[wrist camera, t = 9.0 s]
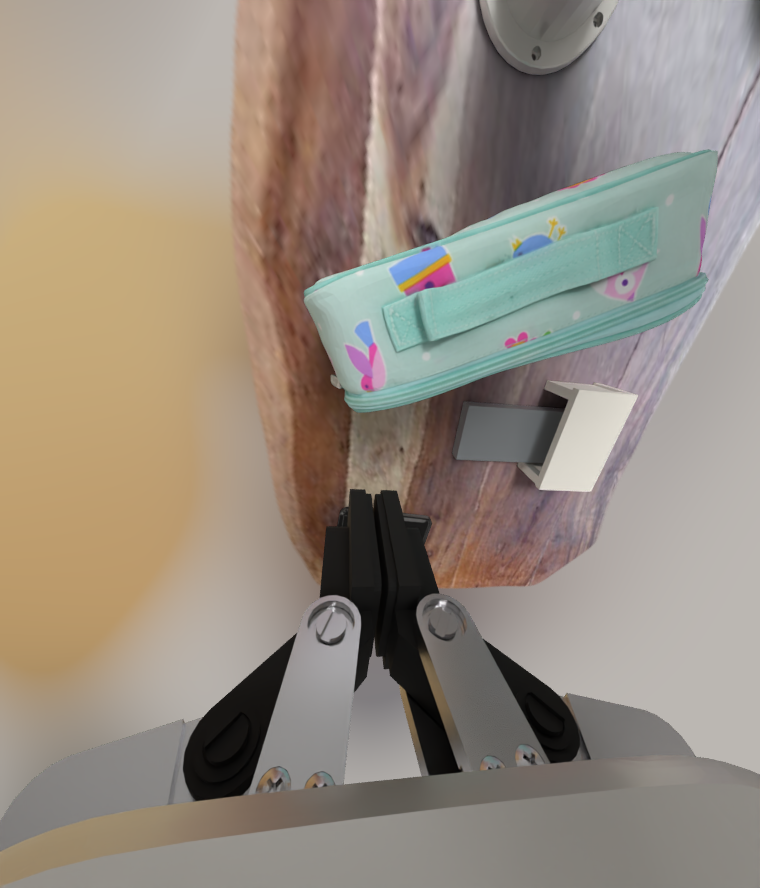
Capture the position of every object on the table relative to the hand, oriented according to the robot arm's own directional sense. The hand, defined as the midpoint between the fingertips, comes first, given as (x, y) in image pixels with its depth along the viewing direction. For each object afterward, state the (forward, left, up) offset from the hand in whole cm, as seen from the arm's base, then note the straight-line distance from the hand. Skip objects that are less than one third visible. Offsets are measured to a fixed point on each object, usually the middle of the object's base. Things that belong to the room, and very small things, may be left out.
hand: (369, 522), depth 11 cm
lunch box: (-8, +9, -29) cm, 31 cm away
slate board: (+7, +23, -29) cm, 38 cm away
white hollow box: (+6, +30, -29) cm, 42 cm away
